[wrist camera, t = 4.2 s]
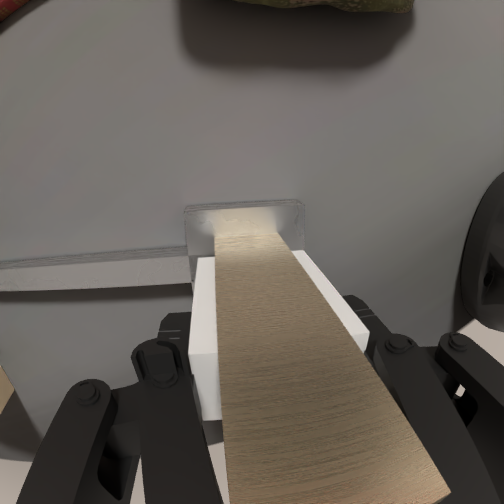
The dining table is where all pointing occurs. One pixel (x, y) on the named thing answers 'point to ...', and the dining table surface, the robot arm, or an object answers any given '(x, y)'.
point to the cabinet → (4, 389)
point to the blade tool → (273, 362)
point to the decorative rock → (343, 4)
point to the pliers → (9, 7)
